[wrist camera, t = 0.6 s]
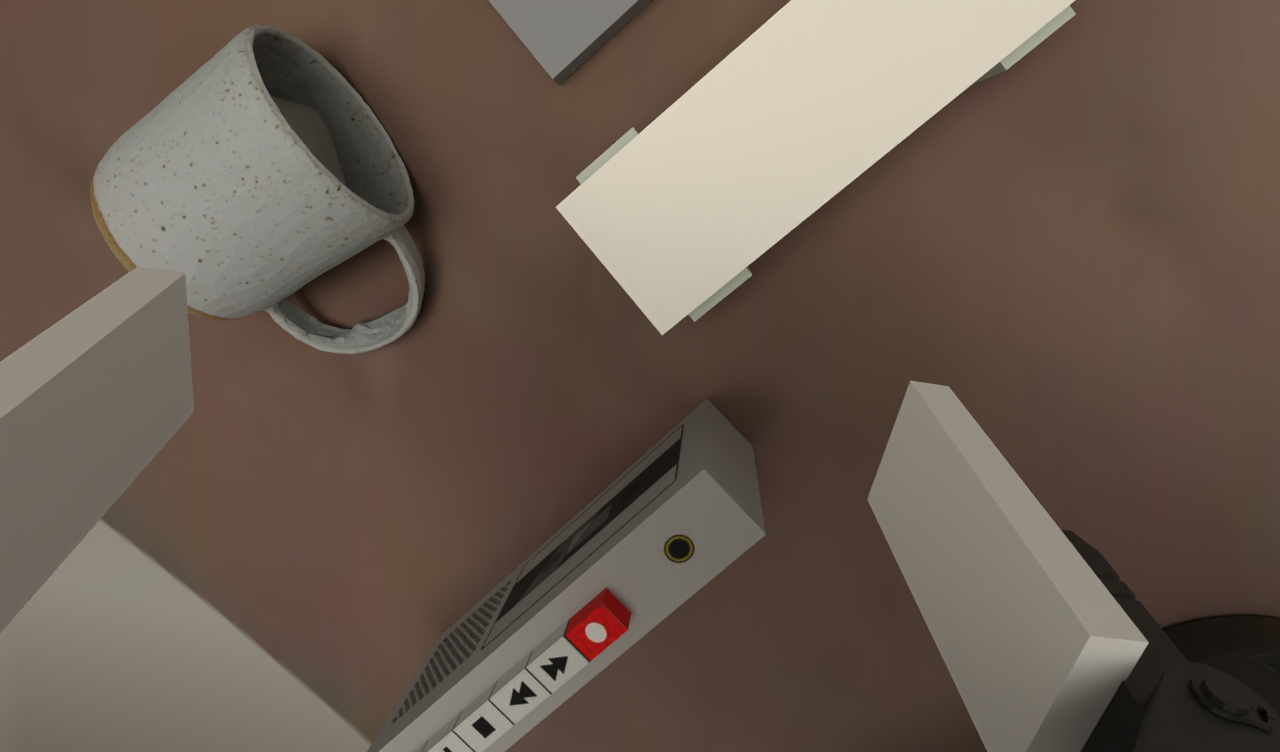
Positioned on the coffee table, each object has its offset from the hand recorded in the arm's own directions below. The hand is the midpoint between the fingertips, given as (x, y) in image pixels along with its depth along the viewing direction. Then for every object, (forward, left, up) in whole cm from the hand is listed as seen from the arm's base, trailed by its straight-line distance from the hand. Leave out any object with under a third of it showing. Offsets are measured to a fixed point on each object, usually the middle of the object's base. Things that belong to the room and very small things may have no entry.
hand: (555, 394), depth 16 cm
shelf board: (+1, -9, -13) cm, 15 cm away
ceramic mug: (+10, +7, -18) cm, 22 cm away
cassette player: (-7, +8, -18) cm, 21 cm away
